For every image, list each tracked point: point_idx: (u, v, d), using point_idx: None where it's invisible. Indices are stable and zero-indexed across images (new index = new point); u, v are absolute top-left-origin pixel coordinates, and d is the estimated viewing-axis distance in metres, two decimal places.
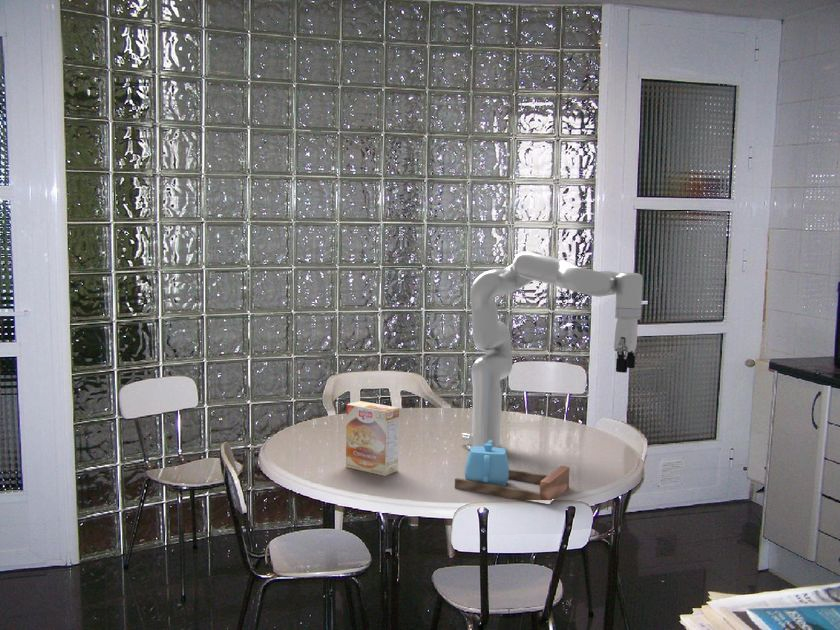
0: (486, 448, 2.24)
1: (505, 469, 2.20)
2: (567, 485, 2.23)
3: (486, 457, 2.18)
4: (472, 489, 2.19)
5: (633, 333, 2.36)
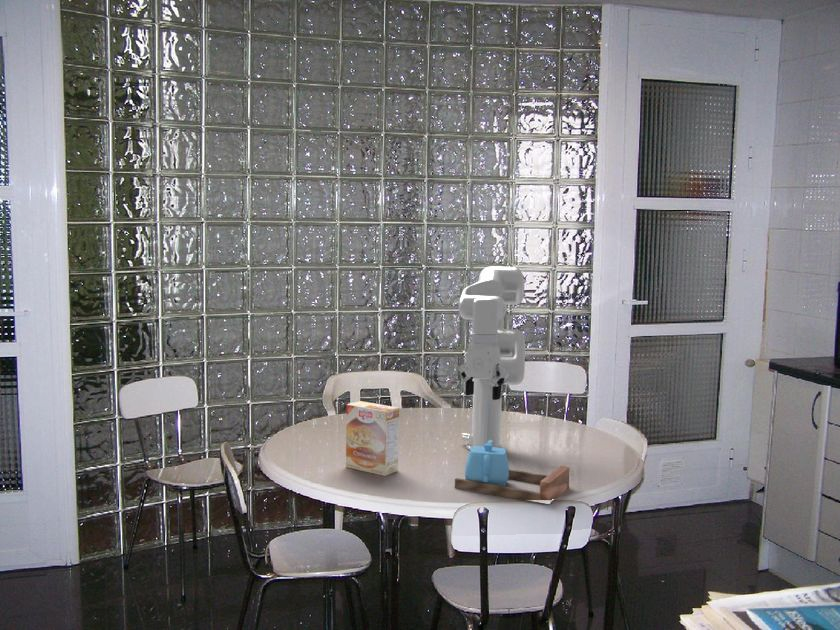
0: (486, 448, 2.24)
1: (505, 469, 2.20)
2: (567, 485, 2.23)
3: (486, 457, 2.18)
4: (472, 489, 2.19)
5: None
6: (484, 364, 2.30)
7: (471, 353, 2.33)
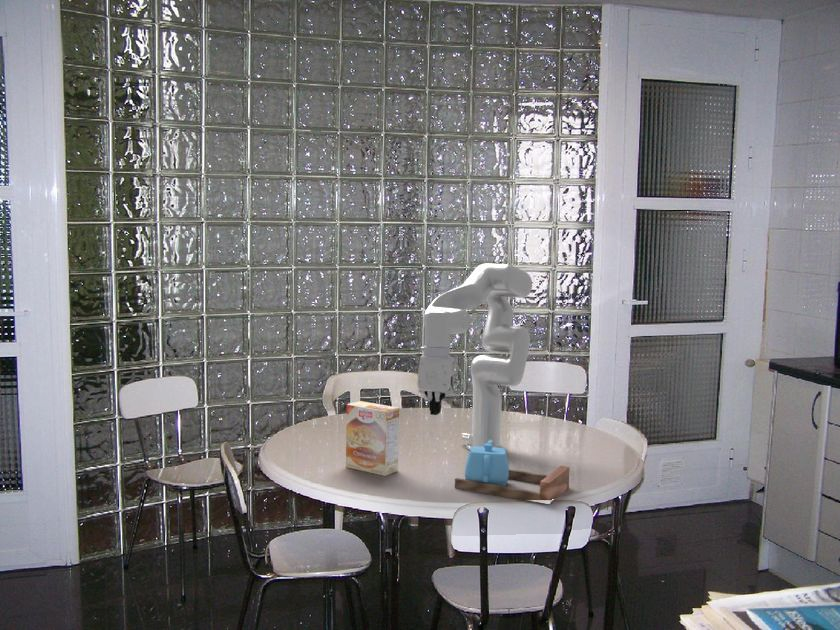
0: (486, 448, 2.24)
1: (505, 469, 2.20)
2: (567, 485, 2.23)
3: (486, 457, 2.18)
4: (472, 489, 2.19)
5: None
6: (438, 377, 2.28)
7: (424, 366, 2.30)
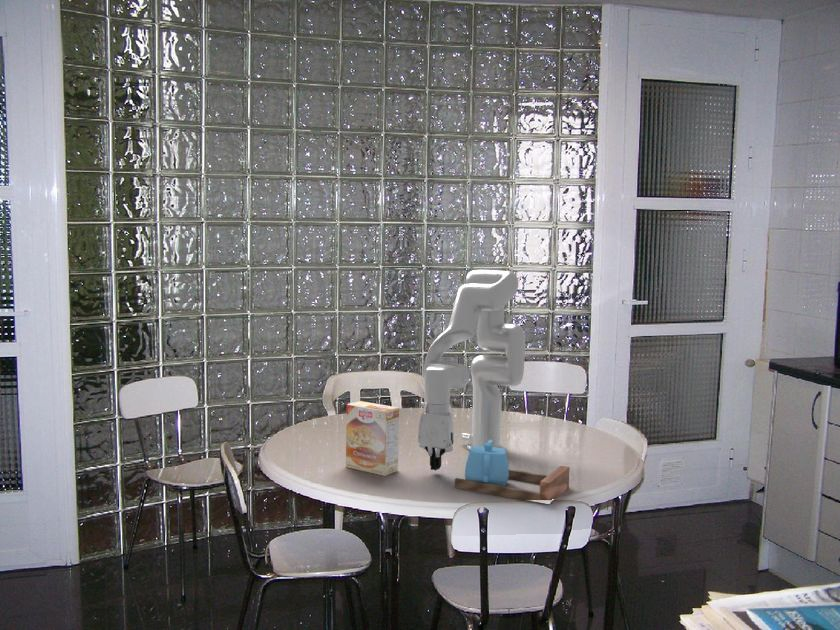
0: (486, 448, 2.24)
1: (505, 469, 2.20)
2: (567, 485, 2.23)
3: (486, 457, 2.18)
4: (472, 489, 2.19)
5: None
6: (438, 434, 2.30)
7: (424, 422, 2.32)
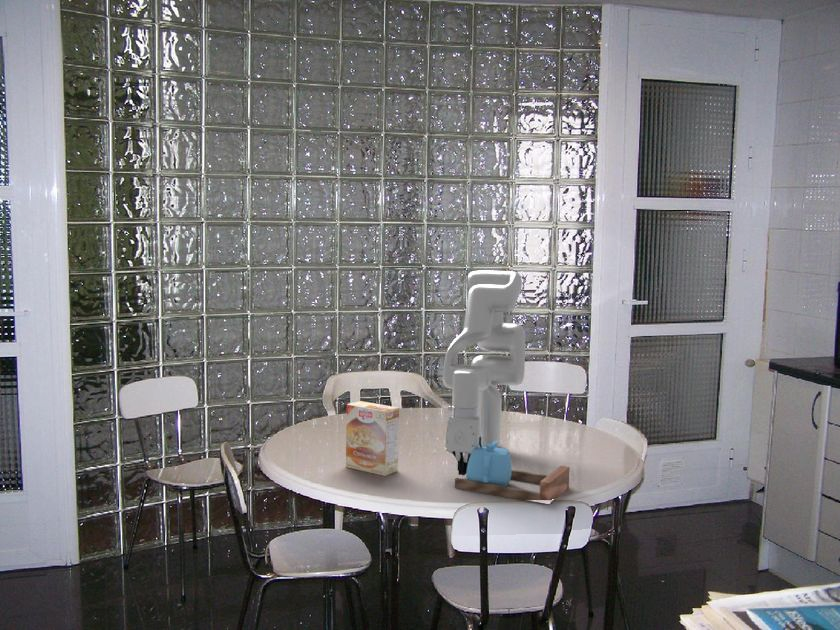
0: (488, 448, 2.23)
1: (506, 470, 2.19)
2: (567, 485, 2.23)
3: (486, 457, 2.18)
4: (472, 489, 2.19)
5: None
6: (467, 438, 2.26)
7: (452, 426, 2.28)
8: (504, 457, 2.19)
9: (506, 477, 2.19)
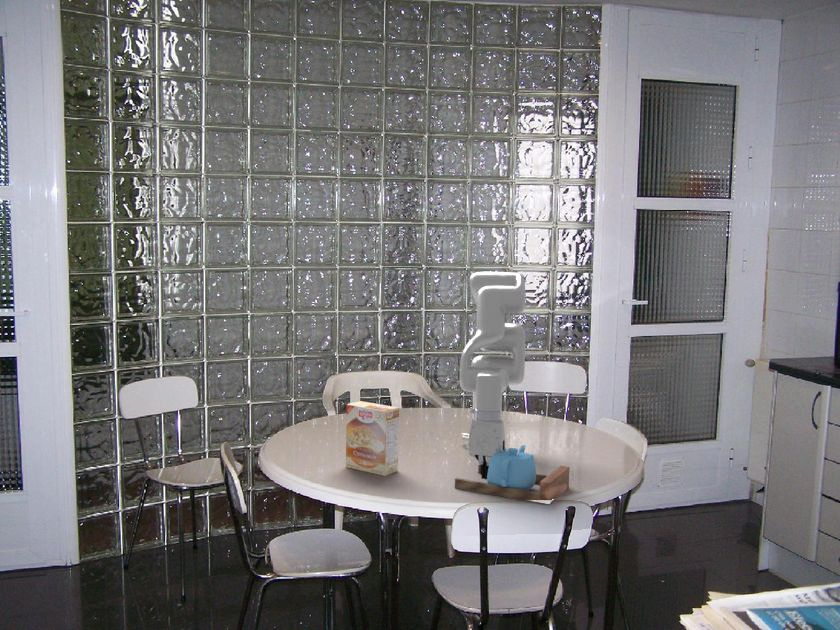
0: (510, 452, 2.20)
1: (525, 475, 2.15)
2: (567, 485, 2.23)
3: (505, 461, 2.15)
4: (472, 489, 2.19)
5: None
6: (490, 442, 2.23)
7: (475, 430, 2.25)
8: (524, 462, 2.15)
9: (525, 482, 2.14)
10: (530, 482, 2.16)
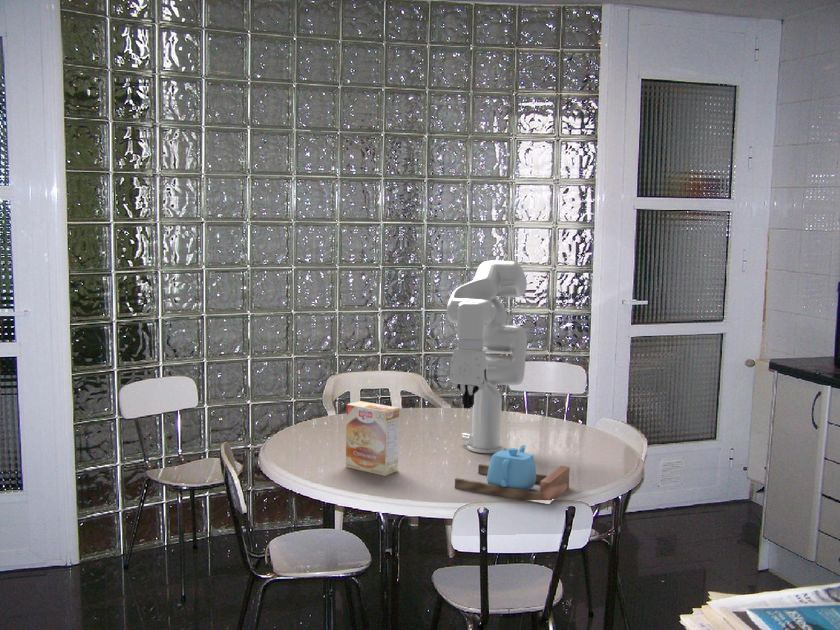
0: (510, 452, 2.20)
1: (525, 475, 2.15)
2: (567, 485, 2.23)
3: (505, 461, 2.15)
4: (472, 489, 2.19)
5: None
6: (472, 370, 2.24)
7: (457, 359, 2.26)
8: (524, 462, 2.15)
9: (525, 482, 2.14)
10: (530, 482, 2.16)
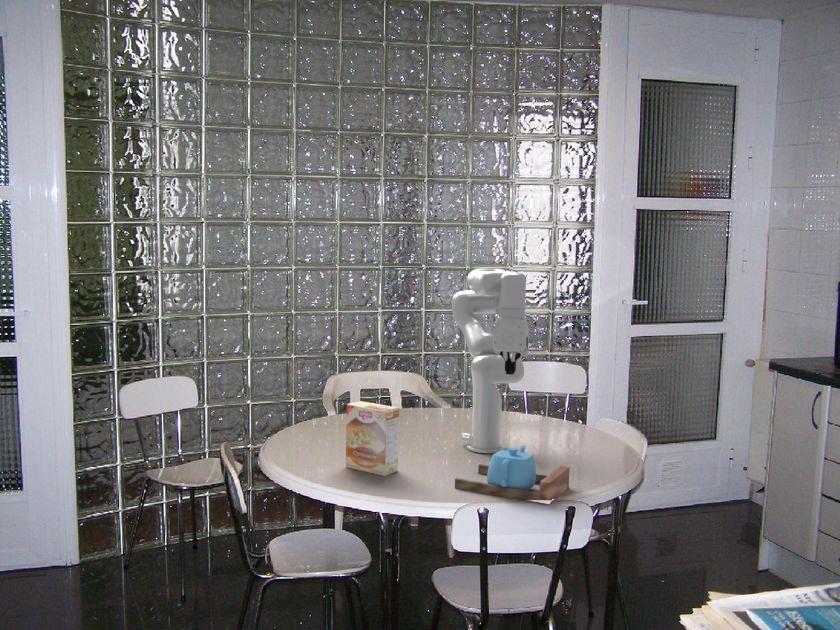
0: (510, 452, 2.20)
1: (525, 475, 2.15)
2: (567, 485, 2.23)
3: (505, 461, 2.15)
4: (472, 489, 2.19)
5: None
6: (514, 337, 2.36)
7: (500, 327, 2.38)
8: (524, 462, 2.15)
9: (525, 482, 2.14)
10: (530, 482, 2.16)
